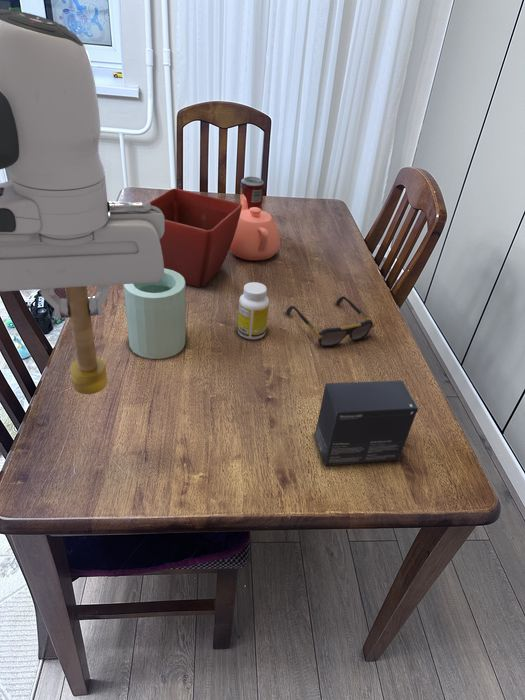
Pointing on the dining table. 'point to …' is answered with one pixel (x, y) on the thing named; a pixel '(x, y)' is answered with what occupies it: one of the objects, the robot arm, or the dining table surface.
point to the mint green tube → (156, 316)
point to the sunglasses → (339, 328)
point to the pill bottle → (253, 311)
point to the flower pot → (196, 233)
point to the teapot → (255, 234)
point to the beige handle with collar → (84, 345)
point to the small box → (364, 422)
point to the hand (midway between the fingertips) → (79, 314)
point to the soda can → (252, 191)
